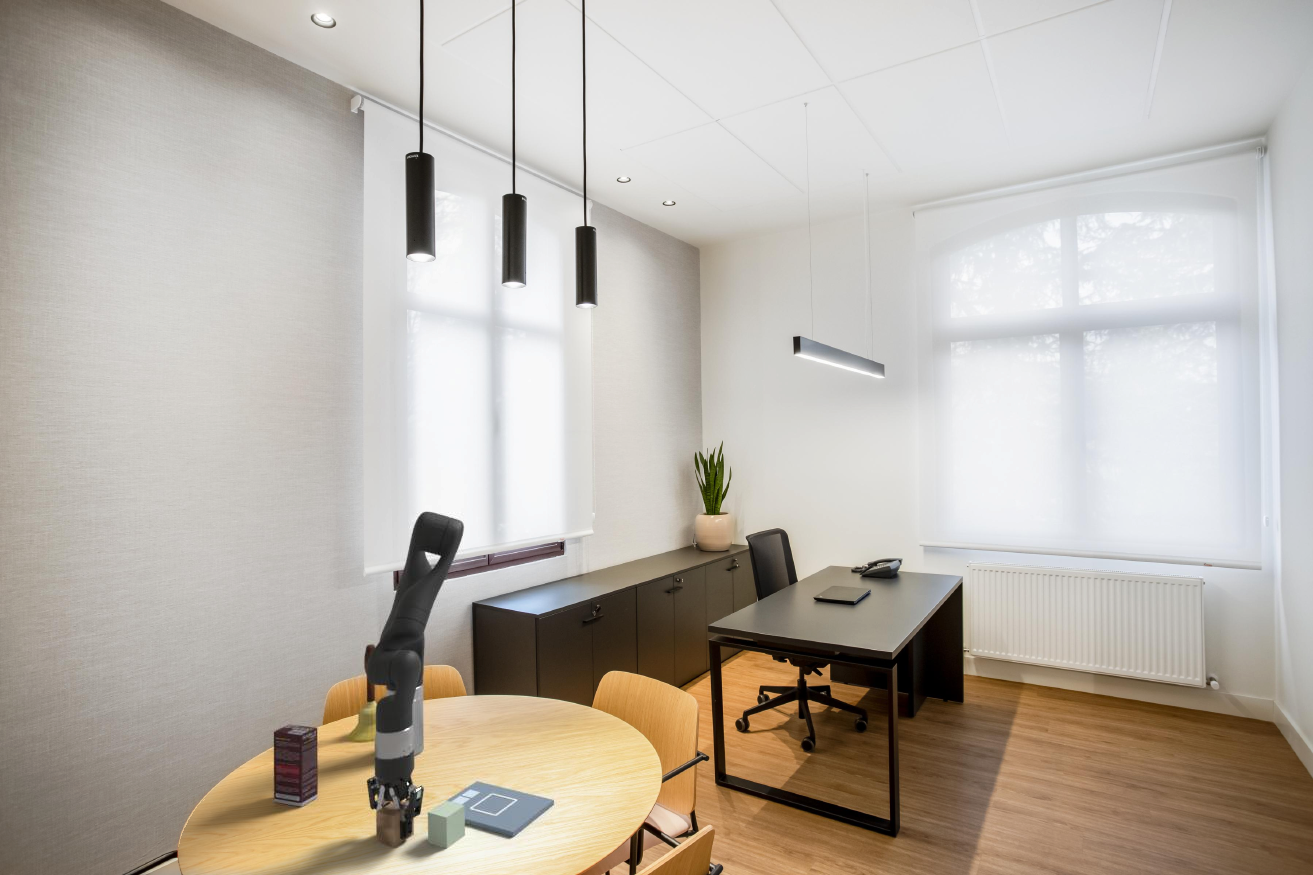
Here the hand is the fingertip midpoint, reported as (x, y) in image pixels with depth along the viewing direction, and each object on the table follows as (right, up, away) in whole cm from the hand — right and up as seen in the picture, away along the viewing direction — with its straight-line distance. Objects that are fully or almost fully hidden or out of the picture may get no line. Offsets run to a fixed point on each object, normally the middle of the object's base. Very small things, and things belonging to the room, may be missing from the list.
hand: (395, 833), depth 134 cm
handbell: (-29, -4, +54) cm, 62 cm away
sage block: (+11, -1, -1) cm, 11 cm away
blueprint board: (+17, -1, +10) cm, 20 cm away
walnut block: (0, -1, 0) cm, 1 cm away
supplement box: (-29, -3, +17) cm, 34 cm away
